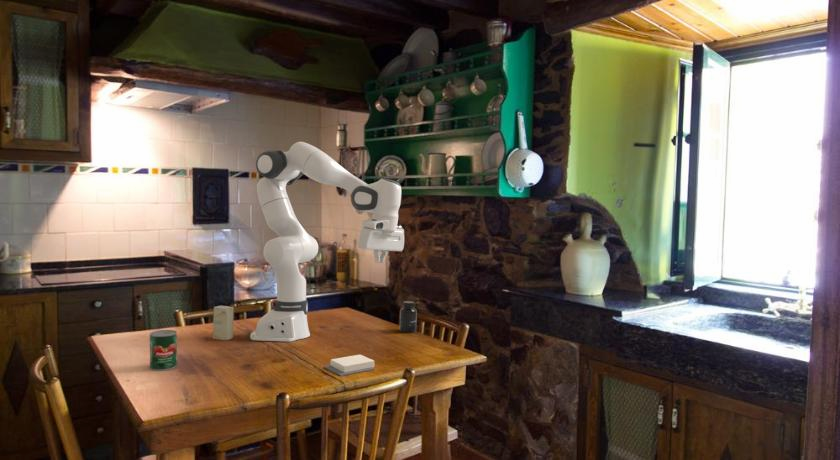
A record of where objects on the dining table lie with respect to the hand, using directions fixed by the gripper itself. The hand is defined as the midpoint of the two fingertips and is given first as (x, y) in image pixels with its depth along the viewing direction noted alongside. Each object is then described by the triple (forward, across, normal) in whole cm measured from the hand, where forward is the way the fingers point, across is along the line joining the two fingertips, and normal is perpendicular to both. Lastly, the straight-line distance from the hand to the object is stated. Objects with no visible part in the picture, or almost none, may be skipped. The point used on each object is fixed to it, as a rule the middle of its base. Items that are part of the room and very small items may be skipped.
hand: (379, 262), depth 215 cm
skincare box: (+38, +28, -48) cm, 68 cm away
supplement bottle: (+29, -30, -7) cm, 43 cm away
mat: (+32, +21, +14) cm, 41 cm away
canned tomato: (+40, +60, -29) cm, 78 cm away
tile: (+30, +14, +15) cm, 37 cm away
